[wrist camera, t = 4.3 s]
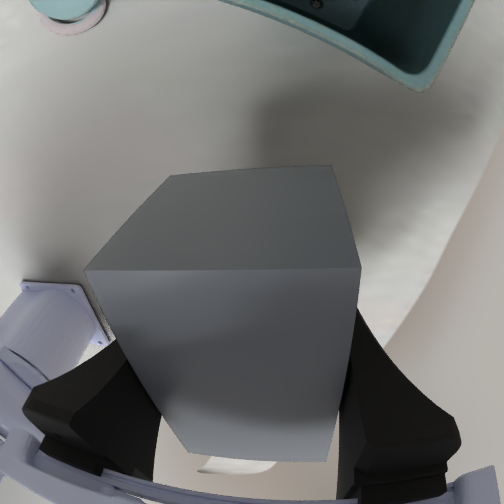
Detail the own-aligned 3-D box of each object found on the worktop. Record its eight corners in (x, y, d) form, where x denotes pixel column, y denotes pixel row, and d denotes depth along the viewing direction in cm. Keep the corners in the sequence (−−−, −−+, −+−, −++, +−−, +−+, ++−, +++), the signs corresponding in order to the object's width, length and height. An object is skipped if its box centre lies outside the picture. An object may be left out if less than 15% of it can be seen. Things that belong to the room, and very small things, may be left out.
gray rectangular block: (214, 352, 18) (188, 452, 12) (170, 175, 12) (83, 270, 7) (324, 354, 17) (325, 461, 11) (331, 165, 11) (361, 267, 6)
